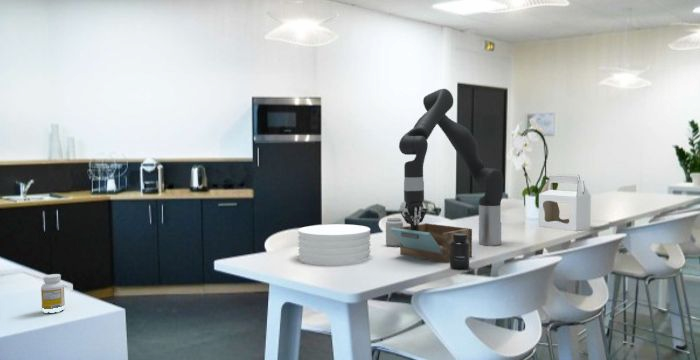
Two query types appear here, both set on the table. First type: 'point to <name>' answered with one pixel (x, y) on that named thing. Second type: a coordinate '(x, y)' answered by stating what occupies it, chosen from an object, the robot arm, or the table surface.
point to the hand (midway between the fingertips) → (414, 234)
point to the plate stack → (334, 244)
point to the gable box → (577, 199)
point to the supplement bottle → (459, 252)
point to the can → (390, 237)
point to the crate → (443, 239)
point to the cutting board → (416, 240)
